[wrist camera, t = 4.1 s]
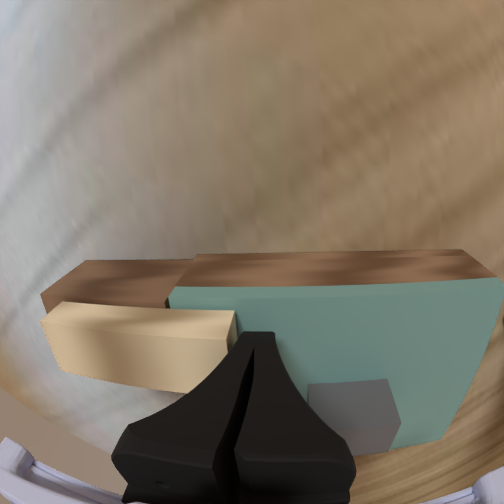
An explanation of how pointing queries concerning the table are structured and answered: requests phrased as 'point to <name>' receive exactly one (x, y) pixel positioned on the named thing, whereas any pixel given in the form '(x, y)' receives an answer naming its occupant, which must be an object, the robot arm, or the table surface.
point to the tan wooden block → (140, 343)
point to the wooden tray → (253, 274)
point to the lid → (371, 350)
